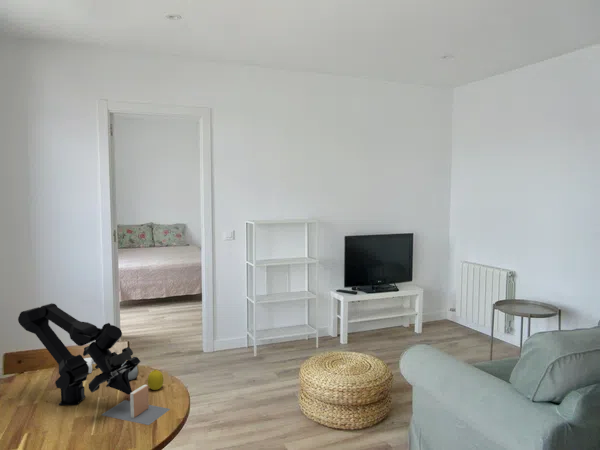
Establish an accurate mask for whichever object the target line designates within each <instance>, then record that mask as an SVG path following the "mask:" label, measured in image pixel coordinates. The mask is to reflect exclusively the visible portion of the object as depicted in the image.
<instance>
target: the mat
mask: <svg viewBox="0 0 600 450" xmlns="http://www.w3.org/2000/svg"><path fill="white" fill-rule="evenodd" d="M170 410H171V408H168V407H161V406H157V405H152V404H149V408H148V409H146V410H145V411H144V412H142V413H141V414H139V415H138V416H136V417H135V418H131V406H130V400H127V399H124V400H123V401H121V402H120V403H118V404H116V405H114V406H113V407H111V408H110V409H108V410H106V411H105V412H102V413H101V414H100V416H102V417H107V418H108V417H109V418H113V419H118V420H122V421H126V422H132V423H135V424H141V425H145V426H146V425H147V426H150V425H151V424H152V423H154V422H155V421H156V420H158V419H159V418H161V417H162V416H164V414H166V413H167V412H168V411H170Z"/></svg>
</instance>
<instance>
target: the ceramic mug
mask: <svg viewBox="0 0 600 450" xmlns="http://www.w3.org/2000/svg"><path fill="white" fill-rule="evenodd" d="M124 364H125V363H124ZM124 364H123V365H124ZM123 365H121V366H123ZM139 370H140V369H139V364H138V365H137V366H136V367H135V368H134V369H133V370H132V371H131V372H129V373H128V379H129V381H133V380H135V379H137V377H138V376H139ZM117 372H119V371H117Z"/></svg>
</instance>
